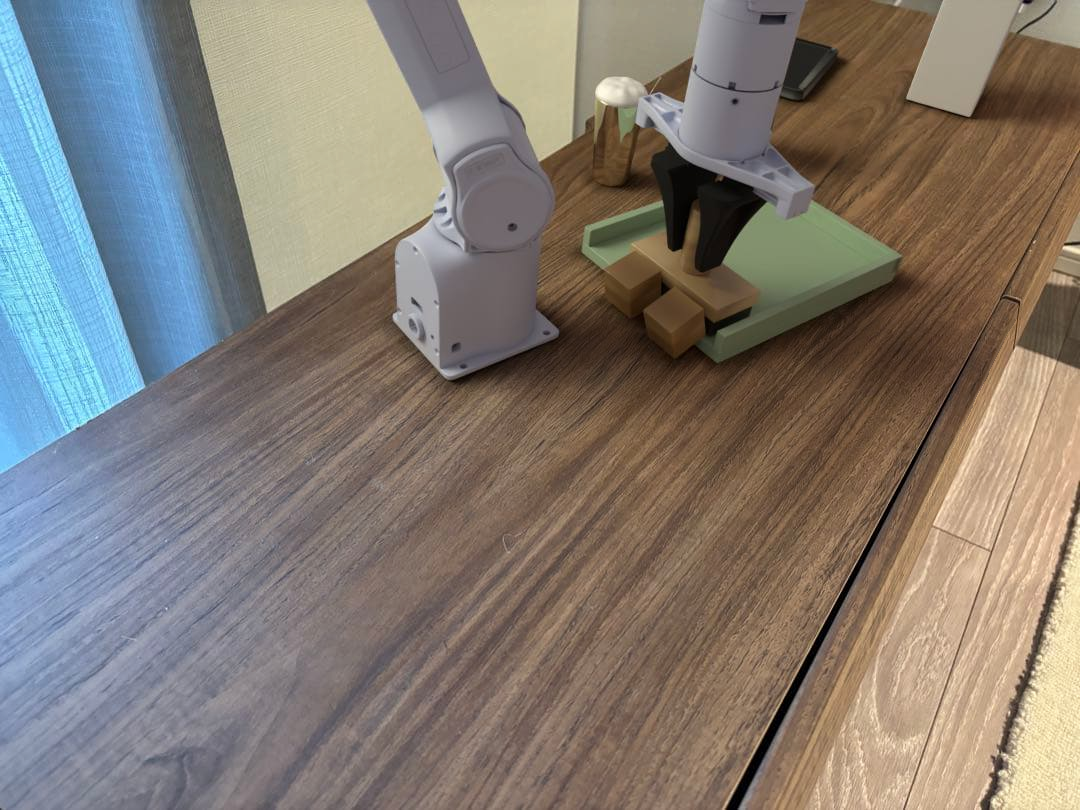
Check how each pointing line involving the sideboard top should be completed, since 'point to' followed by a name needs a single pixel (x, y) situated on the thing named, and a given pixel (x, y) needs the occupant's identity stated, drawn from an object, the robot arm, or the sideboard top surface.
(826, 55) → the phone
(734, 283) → the brush
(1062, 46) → the sideboard top surface
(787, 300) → the tray
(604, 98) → the milkshake
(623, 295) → the crumb
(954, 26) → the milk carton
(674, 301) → the crumb
